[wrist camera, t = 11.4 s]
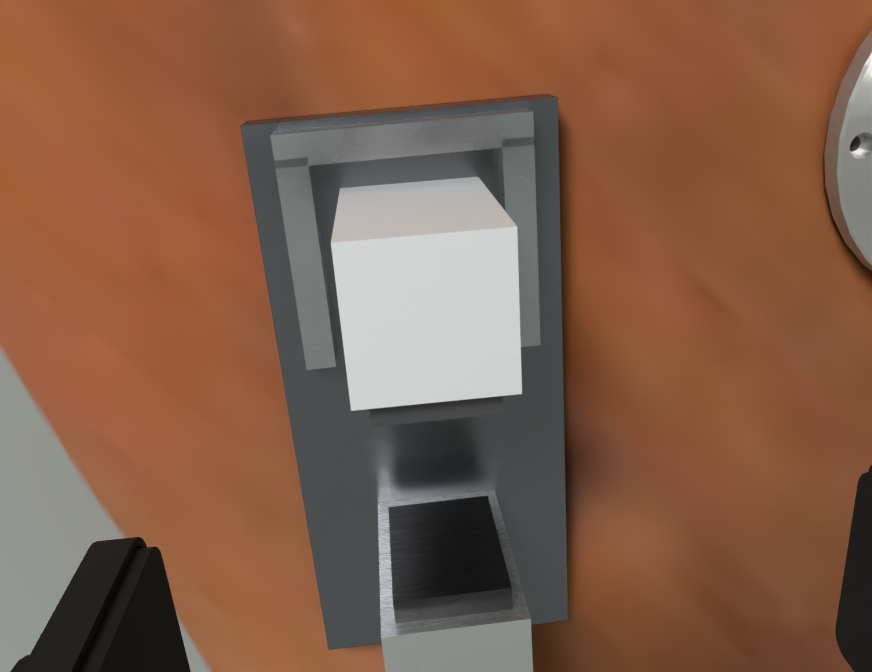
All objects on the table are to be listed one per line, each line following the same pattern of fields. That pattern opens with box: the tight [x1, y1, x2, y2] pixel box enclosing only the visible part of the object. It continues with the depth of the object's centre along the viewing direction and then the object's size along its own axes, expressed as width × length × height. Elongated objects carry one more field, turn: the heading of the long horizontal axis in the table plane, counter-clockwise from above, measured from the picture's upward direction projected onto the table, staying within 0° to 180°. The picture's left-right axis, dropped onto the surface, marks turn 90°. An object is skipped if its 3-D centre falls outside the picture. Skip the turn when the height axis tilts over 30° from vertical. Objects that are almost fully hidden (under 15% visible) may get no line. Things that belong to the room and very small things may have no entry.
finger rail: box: [240, 94, 568, 672], centre depth 26 cm, size 10×21×8 cm, turn 5°
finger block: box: [331, 177, 522, 427], centre depth 23 cm, size 4×5×7 cm
